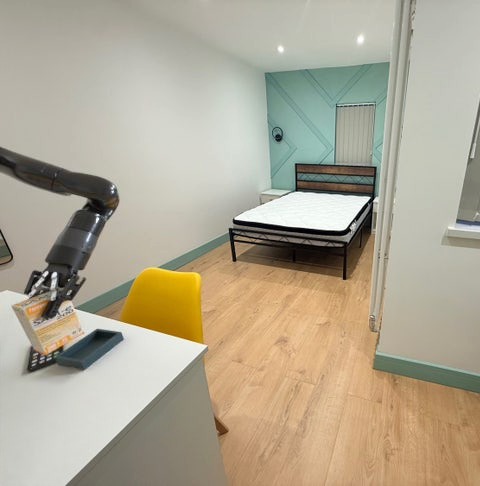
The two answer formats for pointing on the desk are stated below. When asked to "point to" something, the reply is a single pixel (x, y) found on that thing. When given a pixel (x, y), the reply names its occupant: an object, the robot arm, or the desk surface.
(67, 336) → the supplement box
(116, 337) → the pad dock
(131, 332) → the desk surface
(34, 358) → the smartphone
